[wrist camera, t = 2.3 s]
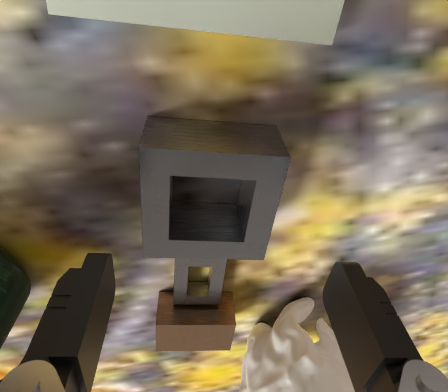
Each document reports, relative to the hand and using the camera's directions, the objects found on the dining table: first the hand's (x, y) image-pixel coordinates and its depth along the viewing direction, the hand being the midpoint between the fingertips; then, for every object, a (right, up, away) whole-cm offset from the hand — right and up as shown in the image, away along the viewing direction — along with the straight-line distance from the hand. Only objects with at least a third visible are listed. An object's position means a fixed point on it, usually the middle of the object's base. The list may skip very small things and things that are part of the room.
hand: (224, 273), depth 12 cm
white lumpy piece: (+7, -8, +15) cm, 18 cm away
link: (-1, +4, +5) cm, 7 cm away
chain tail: (-2, -3, +10) cm, 11 cm away
